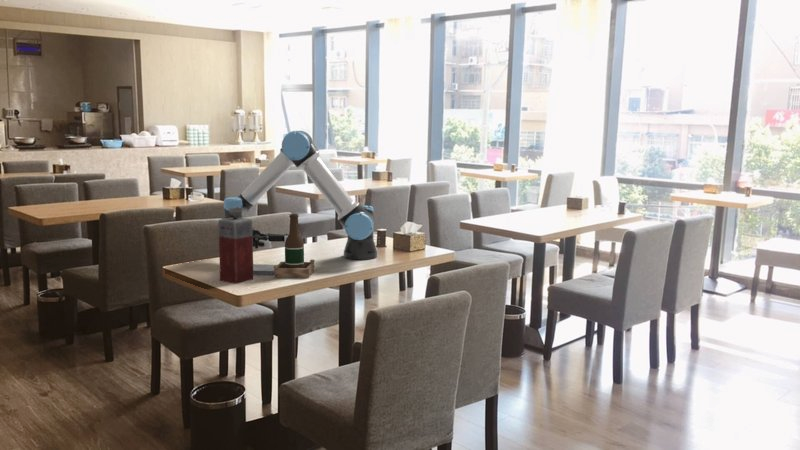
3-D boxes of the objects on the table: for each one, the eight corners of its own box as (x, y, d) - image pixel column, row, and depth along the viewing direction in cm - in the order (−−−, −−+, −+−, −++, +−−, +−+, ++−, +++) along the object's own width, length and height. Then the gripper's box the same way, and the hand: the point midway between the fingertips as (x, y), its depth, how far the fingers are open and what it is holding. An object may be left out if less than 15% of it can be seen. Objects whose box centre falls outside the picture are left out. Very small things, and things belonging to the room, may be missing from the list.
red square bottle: (233, 275, 267) (231, 204, 263) (253, 279, 261) (252, 206, 256) (215, 279, 260) (213, 206, 255) (236, 283, 253) (234, 208, 249)
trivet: (282, 268, 281) (282, 264, 280) (276, 274, 269) (276, 271, 268) (253, 267, 281) (253, 264, 281) (245, 274, 269) (245, 270, 269)
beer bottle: (308, 272, 273) (307, 213, 269) (299, 276, 266) (298, 215, 262) (290, 271, 275) (289, 212, 272) (281, 275, 268) (280, 214, 264)
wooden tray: (314, 270, 277) (314, 259, 276) (309, 278, 263) (309, 266, 263) (280, 269, 277) (280, 259, 277) (273, 277, 264) (273, 266, 263)
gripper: (271, 241, 295) (306, 247, 282) (224, 250, 275) (259, 256, 262) (271, 224, 294) (306, 229, 281) (224, 231, 274) (259, 237, 261)
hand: (283, 242), depth 272 cm, fingers open, 13 cm apart
